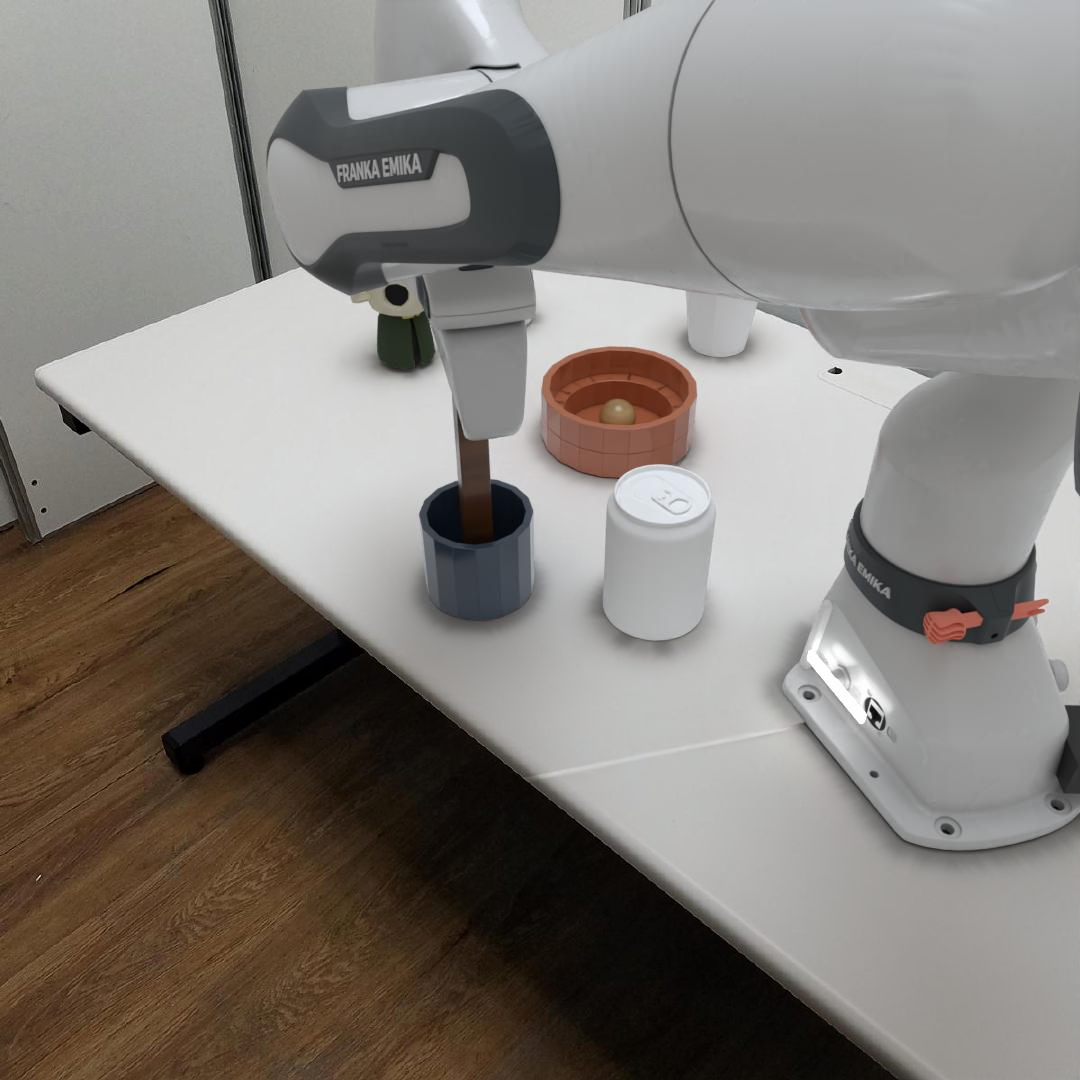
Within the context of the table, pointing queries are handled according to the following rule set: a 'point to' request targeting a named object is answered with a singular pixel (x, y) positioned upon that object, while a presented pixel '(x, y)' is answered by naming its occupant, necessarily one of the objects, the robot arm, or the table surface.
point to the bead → (617, 413)
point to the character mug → (399, 325)
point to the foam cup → (718, 323)
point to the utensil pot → (478, 554)
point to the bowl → (617, 374)
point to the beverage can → (657, 551)
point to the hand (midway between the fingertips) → (470, 419)
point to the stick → (473, 486)
